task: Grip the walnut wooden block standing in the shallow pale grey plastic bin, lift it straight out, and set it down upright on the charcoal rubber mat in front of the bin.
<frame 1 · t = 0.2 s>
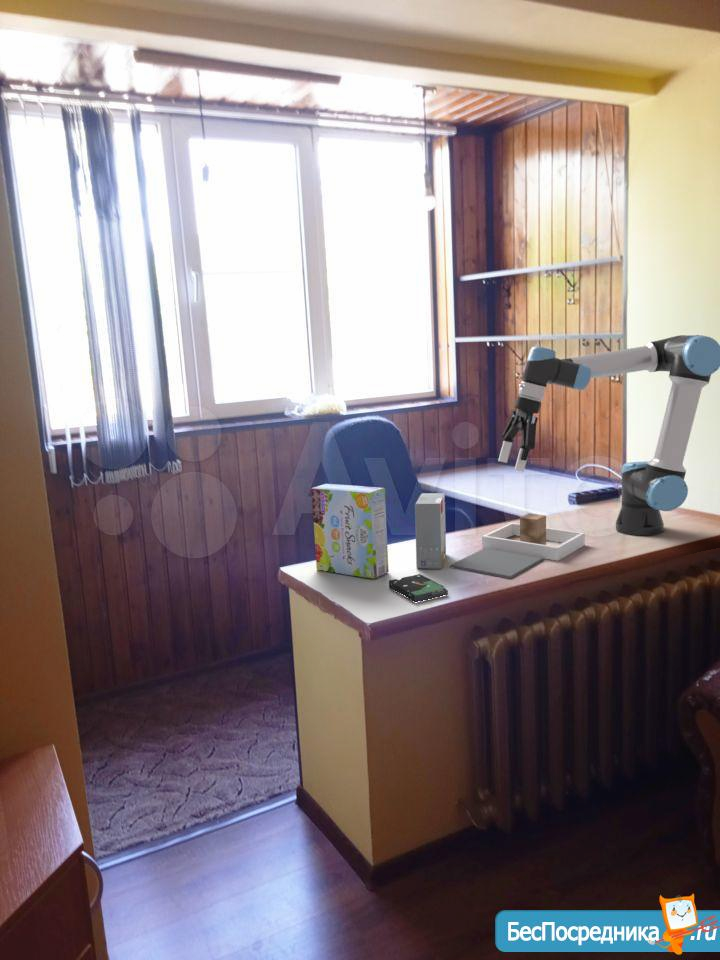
hand: (510, 466, 232), 27 cm above the table, tool tilted 15°, fingers open, 13 cm apart
walnut block: (533, 531, 241), in the bin
disk drive: (418, 594, 207), on the table
snack box: (352, 572, 227), on the table
bin: (533, 546, 242), on the table
hard drive box: (432, 562, 233), on the table
mat: (497, 563, 227), on the table
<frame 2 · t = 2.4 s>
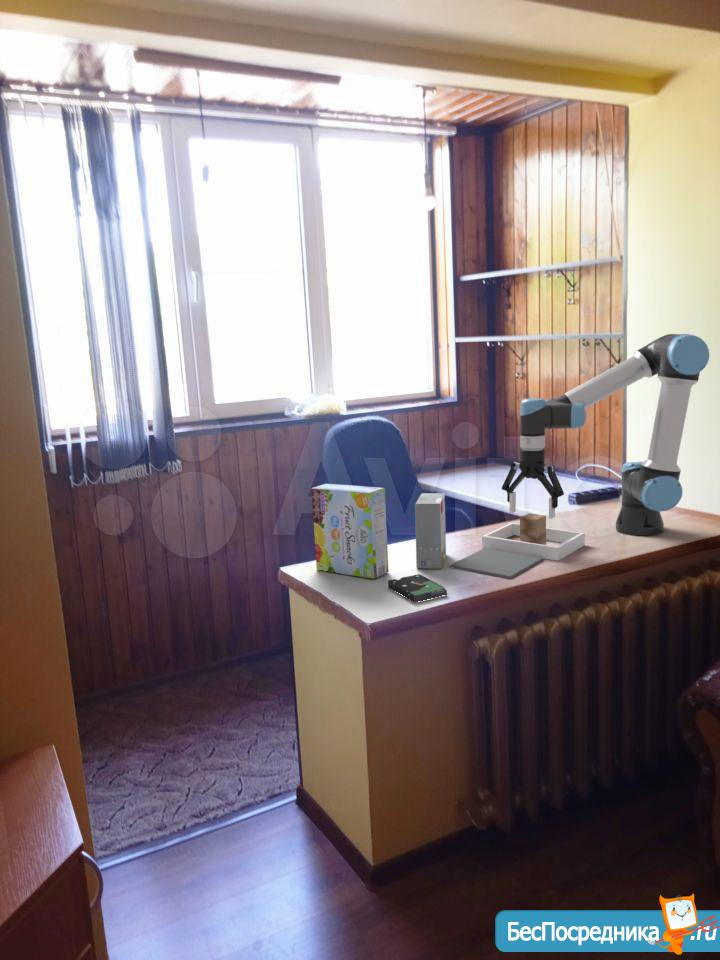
hand: (531, 515, 240), 10 cm above the table, tool pointing down, fingers open, 13 cm apart
nothing on the table moved.
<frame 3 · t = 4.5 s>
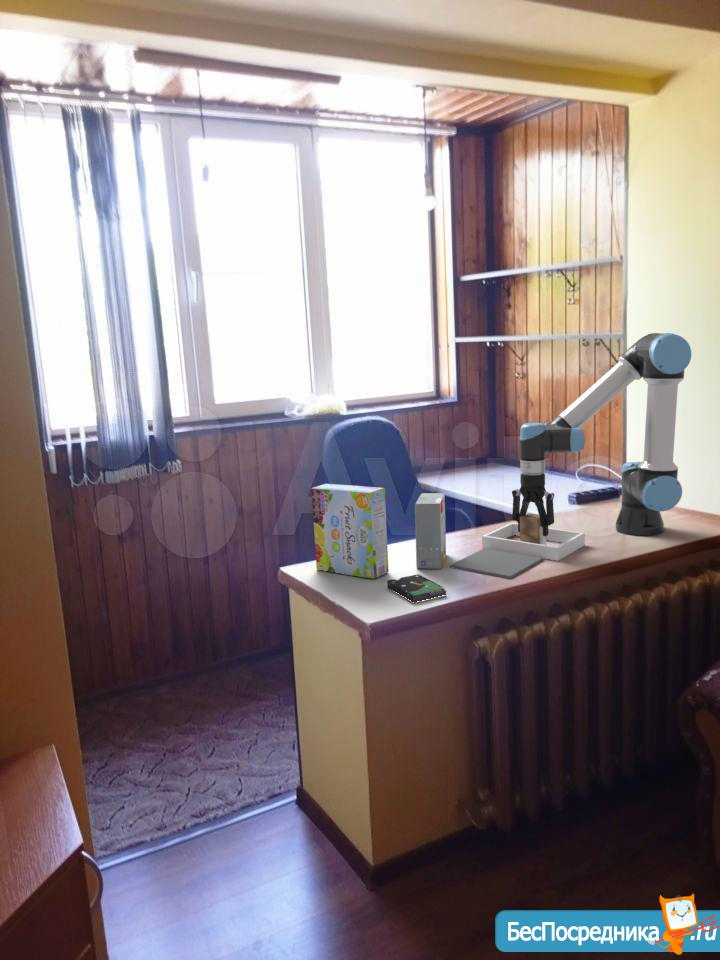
hand: (533, 543, 242), 1 cm above the table, tool pointing down, fingers closed on walnut block, 6 cm apart
walnut block: (533, 531, 241), in the bin, touching gripper
everything else where it was.
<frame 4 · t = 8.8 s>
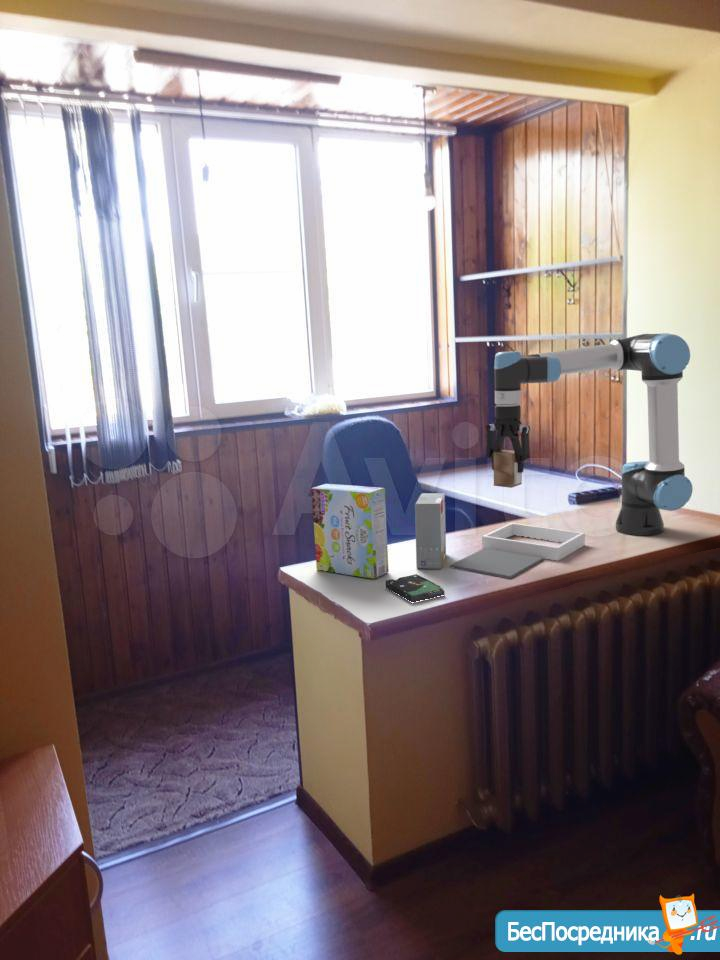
hand: (507, 481, 228), 24 cm above the table, tool pointing down, fingers closed on walnut block, 6 cm apart
walnut block: (507, 468, 227), point 28 cm above the table, touching gripper
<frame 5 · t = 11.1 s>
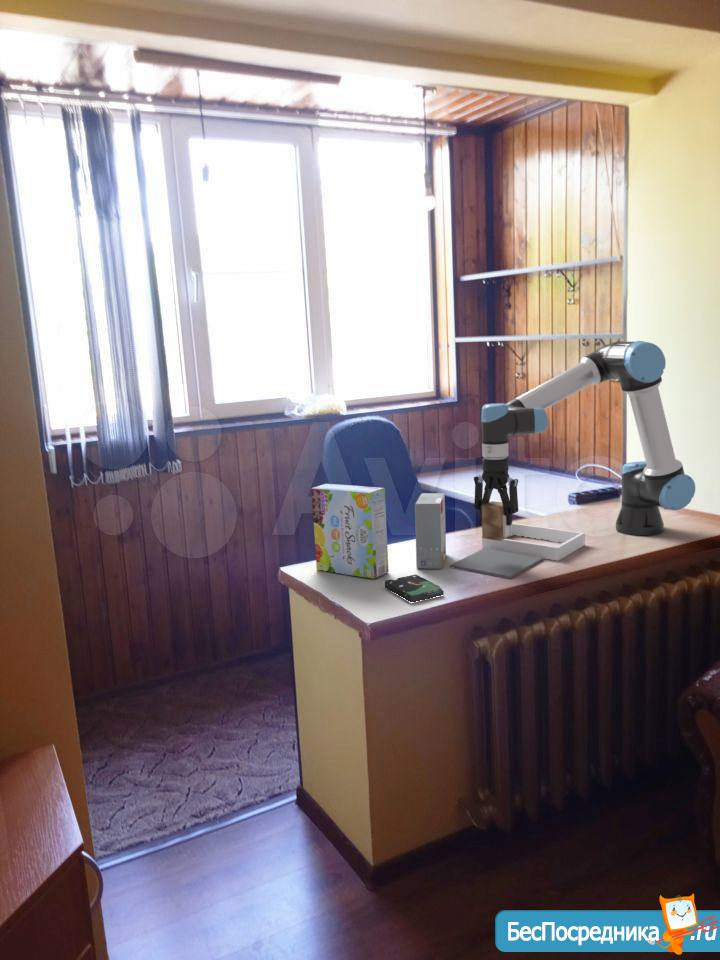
hand: (496, 534, 225), 9 cm above the table, tool pointing down, fingers closed on walnut block, 6 cm apart
walnut block: (496, 520, 224), point 13 cm above the table, touching gripper
when the fingers open (3 cm above the table, at t = 13.2 s): walnut block drops 1 cm, resting on mat.
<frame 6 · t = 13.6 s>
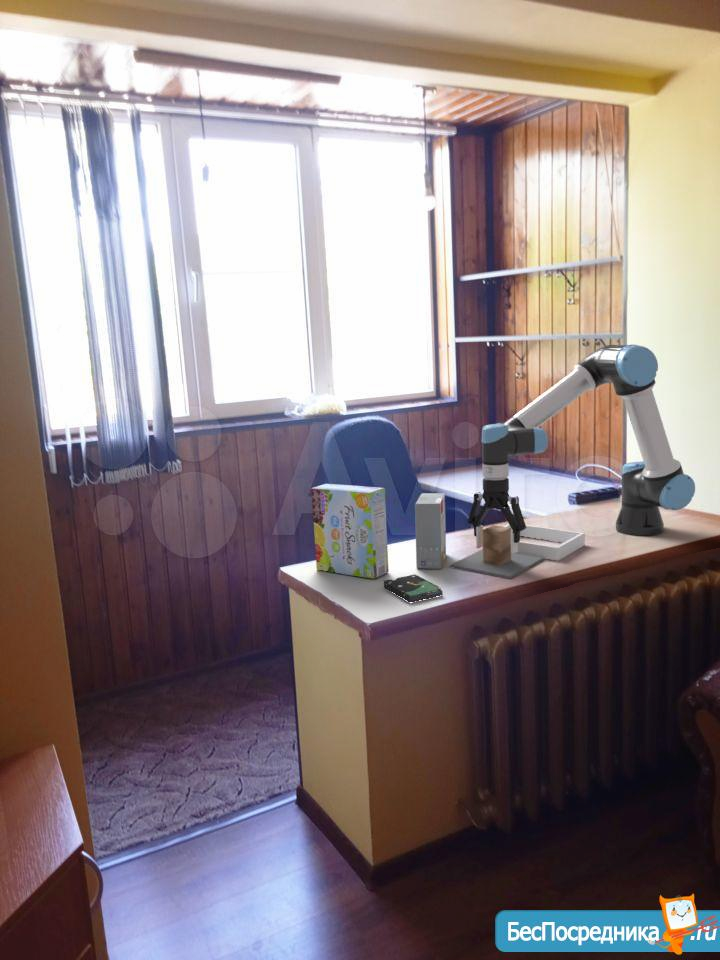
hand: (496, 550, 226), 4 cm above the table, tool pointing down, fingers open, 11 cm apart
walnut block: (497, 545, 226), on the mat, point 6 cm above the table
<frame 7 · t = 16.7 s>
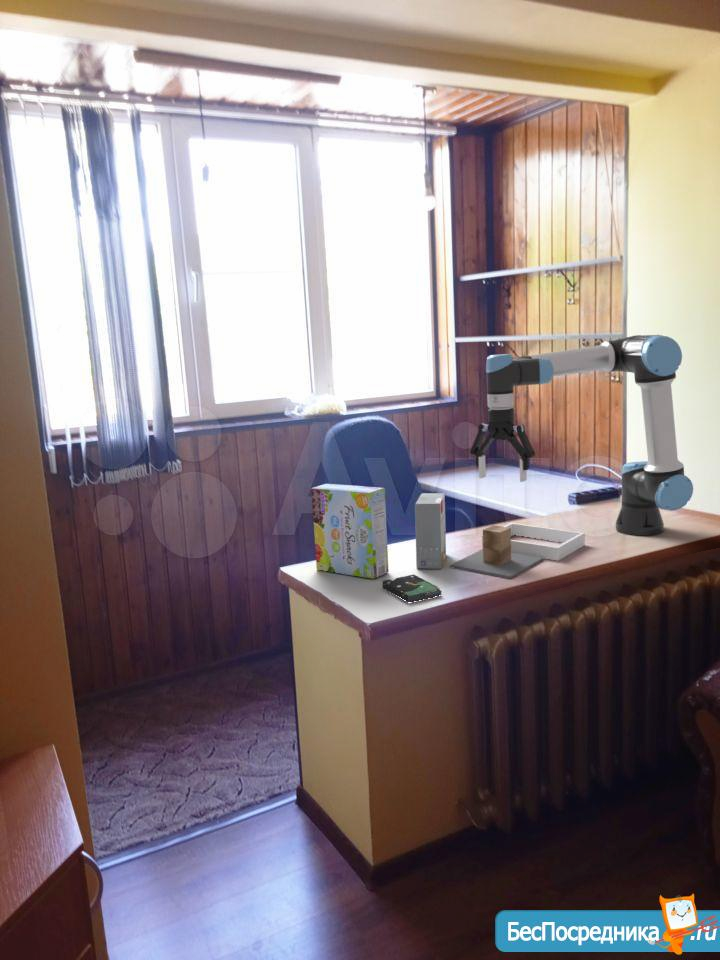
hand: (502, 479, 226), 25 cm above the table, tool pointing down, fingers open, 13 cm apart
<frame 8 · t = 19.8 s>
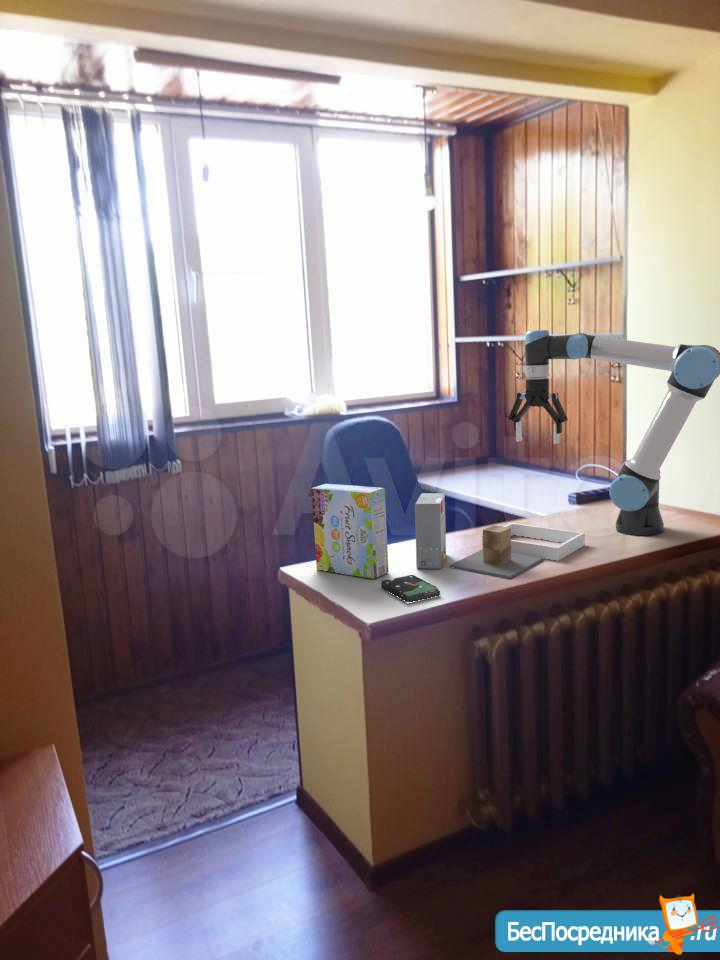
hand: (537, 442, 253), 31 cm above the table, tool pointing down, fingers open, 13 cm apart
at the end: walnut block inside the target area on the mat (0.1 cm from its centre), point 5.8 cm above the mat's base; walnut block tilted 0°; the gripper is holding nothing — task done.
